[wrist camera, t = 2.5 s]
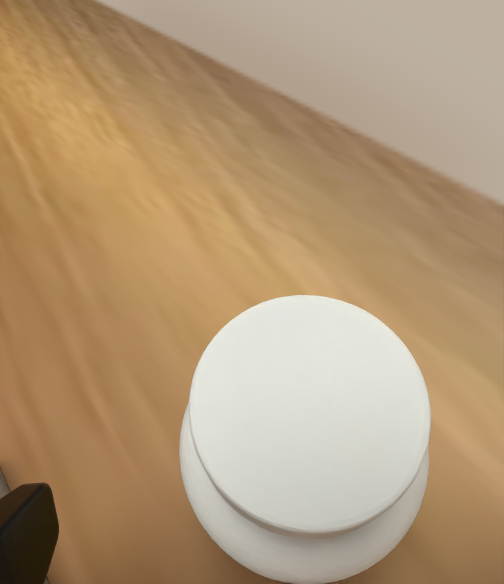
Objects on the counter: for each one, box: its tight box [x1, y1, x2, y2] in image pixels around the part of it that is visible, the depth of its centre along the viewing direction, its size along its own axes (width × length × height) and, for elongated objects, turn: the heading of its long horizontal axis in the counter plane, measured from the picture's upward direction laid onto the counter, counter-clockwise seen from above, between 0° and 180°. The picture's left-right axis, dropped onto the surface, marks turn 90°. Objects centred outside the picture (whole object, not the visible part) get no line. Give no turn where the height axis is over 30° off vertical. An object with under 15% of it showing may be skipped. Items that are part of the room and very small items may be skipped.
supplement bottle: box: [179, 295, 431, 584], centre depth 12 cm, size 5×5×10 cm
